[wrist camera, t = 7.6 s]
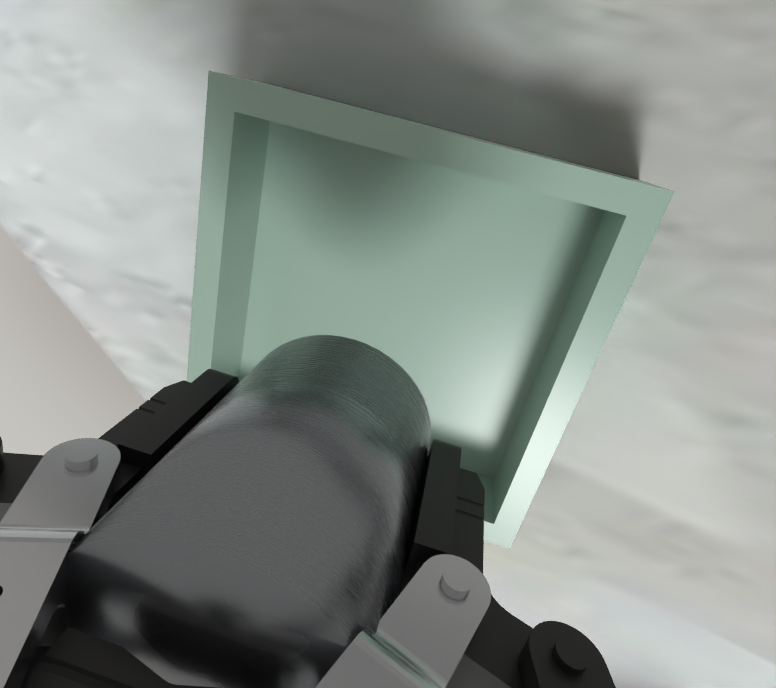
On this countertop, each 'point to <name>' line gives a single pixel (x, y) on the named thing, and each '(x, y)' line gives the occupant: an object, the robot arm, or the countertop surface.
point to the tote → (416, 266)
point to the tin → (265, 524)
